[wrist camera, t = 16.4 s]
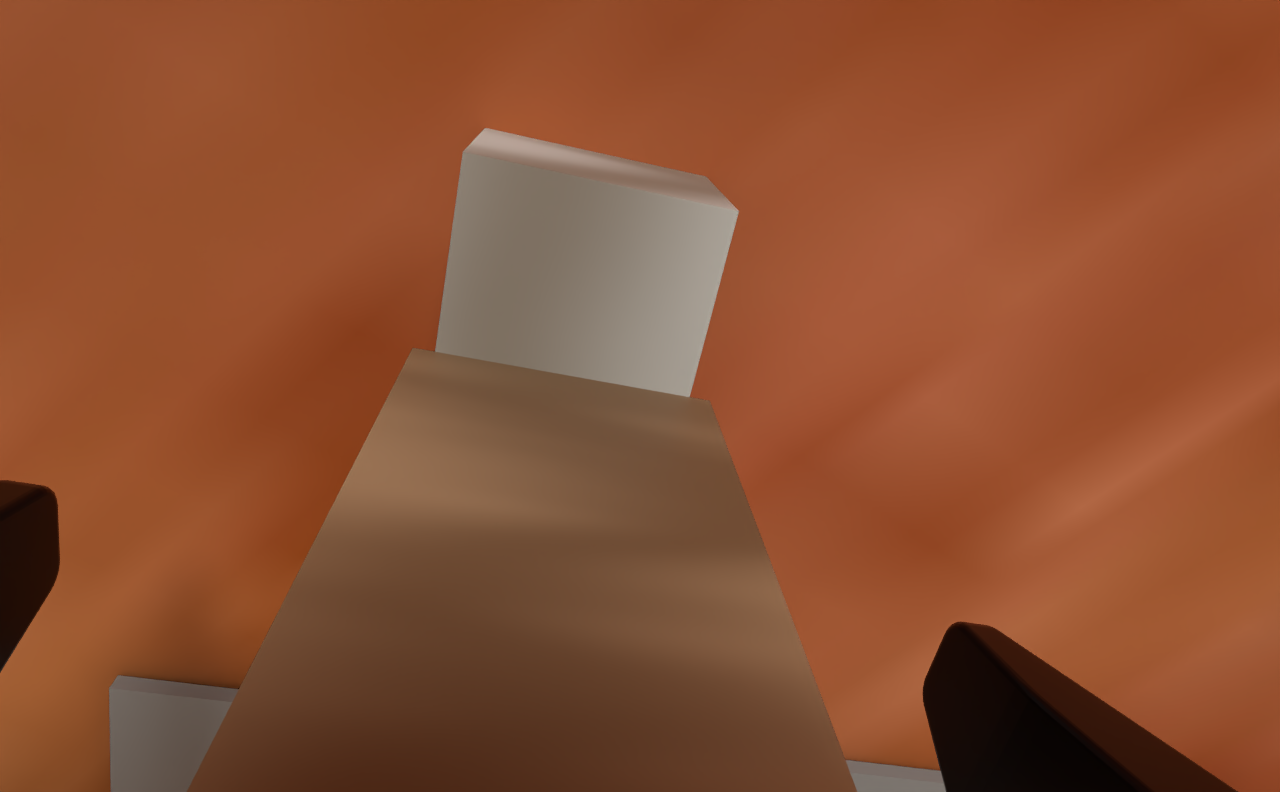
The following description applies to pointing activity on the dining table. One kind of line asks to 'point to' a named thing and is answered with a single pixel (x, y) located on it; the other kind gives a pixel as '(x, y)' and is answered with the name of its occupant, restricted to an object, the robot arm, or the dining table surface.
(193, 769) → the board
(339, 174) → the dining table surface
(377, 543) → the wood block grey top
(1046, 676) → the robot arm
